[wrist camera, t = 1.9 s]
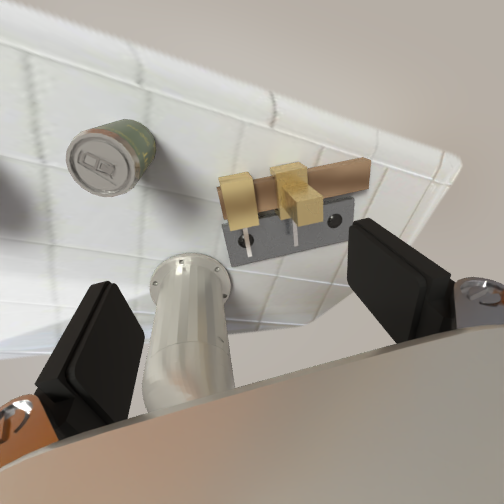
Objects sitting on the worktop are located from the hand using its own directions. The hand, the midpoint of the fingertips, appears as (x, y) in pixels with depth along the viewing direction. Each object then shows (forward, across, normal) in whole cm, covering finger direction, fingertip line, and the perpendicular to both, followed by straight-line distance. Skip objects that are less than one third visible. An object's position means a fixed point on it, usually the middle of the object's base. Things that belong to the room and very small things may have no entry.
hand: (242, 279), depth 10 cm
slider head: (+26, -9, +9) cm, 29 cm away
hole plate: (+26, -9, +13) cm, 31 cm away
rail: (+26, -10, +9) cm, 30 cm away
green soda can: (+27, +9, -3) cm, 28 cm away
